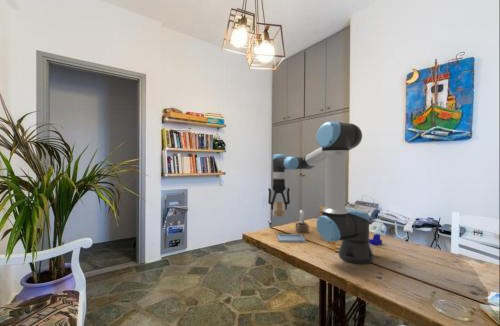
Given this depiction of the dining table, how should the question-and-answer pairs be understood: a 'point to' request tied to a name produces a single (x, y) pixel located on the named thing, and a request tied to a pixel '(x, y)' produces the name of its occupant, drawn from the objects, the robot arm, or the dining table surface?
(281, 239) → the tray
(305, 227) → the brown hollow block
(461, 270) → the dining table surface
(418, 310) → the dining table surface
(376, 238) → the cable clip
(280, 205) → the block
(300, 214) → the silver metal rod
